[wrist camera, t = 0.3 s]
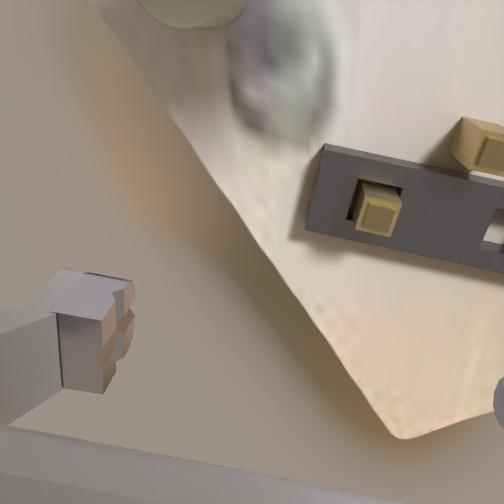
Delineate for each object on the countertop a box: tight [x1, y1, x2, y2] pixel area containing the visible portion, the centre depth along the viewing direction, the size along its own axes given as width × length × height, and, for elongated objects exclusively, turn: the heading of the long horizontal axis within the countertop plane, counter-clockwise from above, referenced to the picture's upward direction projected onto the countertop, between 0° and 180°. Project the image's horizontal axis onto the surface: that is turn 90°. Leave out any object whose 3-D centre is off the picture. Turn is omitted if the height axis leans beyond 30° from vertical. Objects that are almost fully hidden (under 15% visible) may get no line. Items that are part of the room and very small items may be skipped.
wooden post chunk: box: [449, 117, 504, 177], centre depth 48 cm, size 4×4×8 cm
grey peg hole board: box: [305, 143, 504, 273], centre depth 55 cm, size 10×30×3 cm, turn 79°
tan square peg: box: [350, 179, 402, 237], centre depth 53 cm, size 4×4×8 cm
